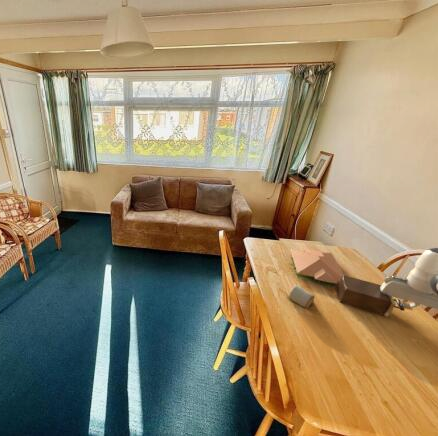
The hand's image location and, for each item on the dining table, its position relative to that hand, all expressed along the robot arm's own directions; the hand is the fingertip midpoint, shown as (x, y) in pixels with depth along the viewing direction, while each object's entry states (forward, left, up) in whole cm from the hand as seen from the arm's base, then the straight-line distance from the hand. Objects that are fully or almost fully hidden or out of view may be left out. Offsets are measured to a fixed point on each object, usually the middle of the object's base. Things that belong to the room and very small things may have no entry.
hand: (405, 307), depth 99 cm
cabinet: (+15, 0, -5) cm, 16 cm away
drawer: (+10, 0, -4) cm, 11 cm away
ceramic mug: (+38, +13, -5) cm, 41 cm away
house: (+31, -21, -5) cm, 38 cm away
